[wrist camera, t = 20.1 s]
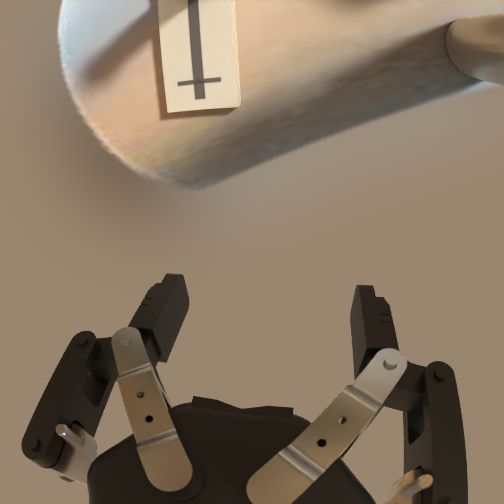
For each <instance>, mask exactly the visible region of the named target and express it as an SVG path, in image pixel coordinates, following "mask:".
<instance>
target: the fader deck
mask: <svg viewBox="0 0 504 504" xmlns="http://www.w3.org/2000/svg"><path fill="white" fill-rule="evenodd" d="M158 17H159V31H160V44H161V55H162V66H163V76H164V85H165V94H166V103H167V111H168V113H171V112H180V111H190V110H201V109H215V108H232V107H239V106H241V95H240V80H239V64H238V48H237V32H236V16H235V0H158Z"/></svg>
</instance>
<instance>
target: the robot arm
mask: <svg viewBox="0 0 504 504" xmlns="http://www.w3.org/2000/svg"><path fill="white" fill-rule="evenodd" d="M445 42H446V49H447V52H448V55H449V57H450V59H451V61H452V62H453V64H454V65H455V66H456V67H457V69H458V70H459V71H461V72H462V73H463V74H465V75H467V76H468V77H471V78H475V79H480V80H484V81H488V82H492V83H496V84H500V85H504V14H496V15H487V16H478V17H471V18H464V19H458V20H456V21H454V22H453V23H452V24H451V25H450V26H449V28H448V29H447V32H446V38H445ZM188 308H189V297H188V292H187V288H186V284H185V280H184V276H183V275H181V274H169V273H167V274H166V275H165V277H164V279H163V280H162V282H161V283H156V284H155V285H154V286H153V287H151V288H150V289H149V290H148V292H147V294H146V295H145V298H144V299H143V301H142V302H141V305H140V306H139V308H138V309H137V311H136V313H135V315H134V316H133V318H132V320H131V322H130V324H129V325H128V327H124V328H122V329H120V330H118V331H117V332H116V333H115V334H114V335H113V337H108V338H98V339H97V338H96V336H95V335H94V333H92V332H91V331H83V332H80V333H78V334H76V335H75V336H74V337H73V338H72V340H71V342H70V344H69V345H68V347H67V349H66V351H65V352H64V354H63V356H62V358H61V360H60V362H59V364H58V365H57V367H56V369H55V371H54V373H53V375H52V377H51V379H50V381H49V383H48V385H47V387H46V389H45V391H44V393H43V395H42V397H41V399H40V401H39V403H38V405H37V407H36V410H35V412H34V414H33V416H32V418H31V421H30V423H29V425H28V427H27V430H26V432H25V434H24V437H23V439H22V445H21V446H22V451H23V453H24V455H25V456H26V457H27V458H29V459H30V460H32V461H33V462H35V463H36V464H38V466H40V467H41V468H43V469H45V470H46V471H48V472H50V473H51V474H53V475H55V476H58V477H60V478H62V479H63V480H66V481H68V482H72V481H77V482H79V483H81V484H83V485H86V486H88V492H89V504H376V503H375V501H374V499H373V498H372V496H371V495H370V494H369V493H368V491H367V490H366V489H365V488H364V487H363V485H362V484H361V483H360V482H359V481H358V479H357V478H356V477H355V476H354V474H353V473H352V472H351V471H350V469H349V468H348V467H347V465H346V464H345V463H344V462H343V460H342V459H343V458H344V456H345V455H346V454H347V453H348V452H349V451H350V449H351V448H352V447H353V445H355V443H356V442H357V441H358V439H359V438H360V437H361V435H362V434H363V433H364V432H365V430H366V429H367V428H368V427H369V425H370V424H371V423H372V421H373V420H374V419H375V417H376V416H377V415H378V413H379V412H380V411H381V409H382V408H383V407H384V406H386V407H389V408H393V409H397V410H401V411H403V423H404V424H403V425H404V475H403V476H402V477H401V478H399V479H398V480H396V481H395V482H394V483H393V484H392V485H391V487H390V489H389V492H388V496H387V498H386V500H385V501H384V503H383V504H468V482H467V461H466V449H465V438H464V430H463V422H462V414H461V408H460V402H459V396H458V390H457V384H456V379H455V375H454V371H453V369H452V368H451V367H450V366H449V365H448V364H446V363H444V362H441V361H435V362H432V363H430V364H429V365H428V366H427V367H424V366H420V365H416V364H413V363H410V362H409V361H407V360H406V358H405V356H404V355H403V354H402V353H401V352H400V351H399V348H398V342H397V337H396V333H395V328H394V324H393V319H392V316H391V310H390V305H389V304H388V303H387V301H386V300H385V299H384V298H383V297H376V296H375V291H374V287H373V286H371V285H357V286H356V289H355V294H354V299H353V303H352V308H351V315H350V323H351V334H352V346H353V361H354V377H355V381H354V382H353V383H352V384H351V385H350V386H349V385H348V386H346V387H345V388H344V389H343V390H342V391H341V393H340V394H339V395H338V396H337V397H336V398H335V399H334V400H333V401H332V402H331V404H330V405H329V406H328V407H327V408H326V409H325V410H324V411H323V412H322V413H321V414H320V415H319V416H318V417H317V418H316V419H315V420H314V421H313V422H312V423H310V422H309V421H308V420H306V419H304V418H302V417H300V416H297V415H294V414H293V408H288V407H275V406H263V407H255V408H246V409H240V408H237V407H234V406H232V405H229V404H227V403H224V402H221V401H219V400H215V399H209V398H202V397H196V396H193V400H192V402H191V403H184V404H180V405H177V406H174V407H172V405H171V403H170V401H169V398H168V396H167V394H166V391H165V389H164V386H163V384H162V381H161V379H160V376H159V374H158V371H157V369H156V365H157V363H158V361H159V362H165V363H166V362H167V360H168V357H169V355H170V352H171V350H172V348H173V345H174V343H175V340H176V338H177V335H178V333H179V331H180V328H181V326H182V323H183V321H184V319H185V316H186V314H187V311H188ZM115 381H118V384H119V388H120V392H121V395H122V399H123V402H124V406H125V409H126V412H127V415H128V418H129V422H130V425H131V428H132V431H133V434H131V435H130V436H128V437H127V438H125V439H124V440H122V441H121V442H119V443H118V444H116V445H115V446H113V447H111V448H110V449H108V450H107V451H105V452H104V453H102V454H101V455H99V456H98V457H97V443H96V441H95V439H94V435H95V433H96V430H97V427H98V425H99V422H100V419H101V416H102V414H103V411H104V409H105V406H106V404H107V401H108V398H109V396H110V393H111V391H112V388H113V386H114V383H115ZM96 457H97V458H96Z"/></svg>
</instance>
